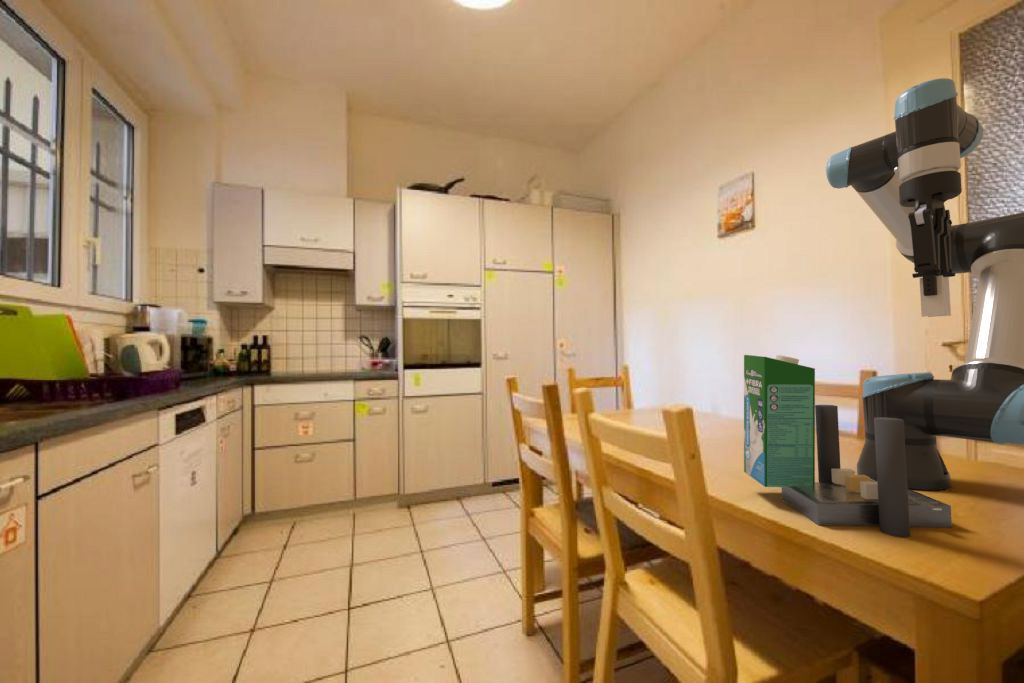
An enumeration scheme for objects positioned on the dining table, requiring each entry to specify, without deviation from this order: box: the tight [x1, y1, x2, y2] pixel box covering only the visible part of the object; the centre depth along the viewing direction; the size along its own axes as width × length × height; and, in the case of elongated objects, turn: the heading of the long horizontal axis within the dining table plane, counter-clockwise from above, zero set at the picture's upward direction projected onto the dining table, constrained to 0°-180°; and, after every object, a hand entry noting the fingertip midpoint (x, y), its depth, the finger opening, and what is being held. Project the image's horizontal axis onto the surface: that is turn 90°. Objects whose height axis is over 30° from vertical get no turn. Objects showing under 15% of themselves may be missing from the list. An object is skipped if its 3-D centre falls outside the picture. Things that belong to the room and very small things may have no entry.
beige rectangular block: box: [860, 482, 878, 499], centre depth 72 cm, size 3×1×2 cm, turn 83°
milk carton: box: [743, 354, 816, 488], centre depth 85 cm, size 9×9×25 cm
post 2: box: [874, 417, 911, 538], centre depth 68 cm, size 4×4×18 cm
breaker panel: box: [781, 479, 953, 529], centre depth 76 cm, size 20×16×4 cm
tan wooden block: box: [845, 474, 870, 491], centre depth 76 cm, size 3×1×2 cm, turn 83°
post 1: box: [815, 404, 842, 482], centre depth 84 cm, size 4×4×18 cm
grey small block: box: [831, 468, 856, 484], centre depth 80 cm, size 3×1×2 cm, turn 83°
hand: (936, 315), depth 71 cm, fingers open, 3 cm apart
